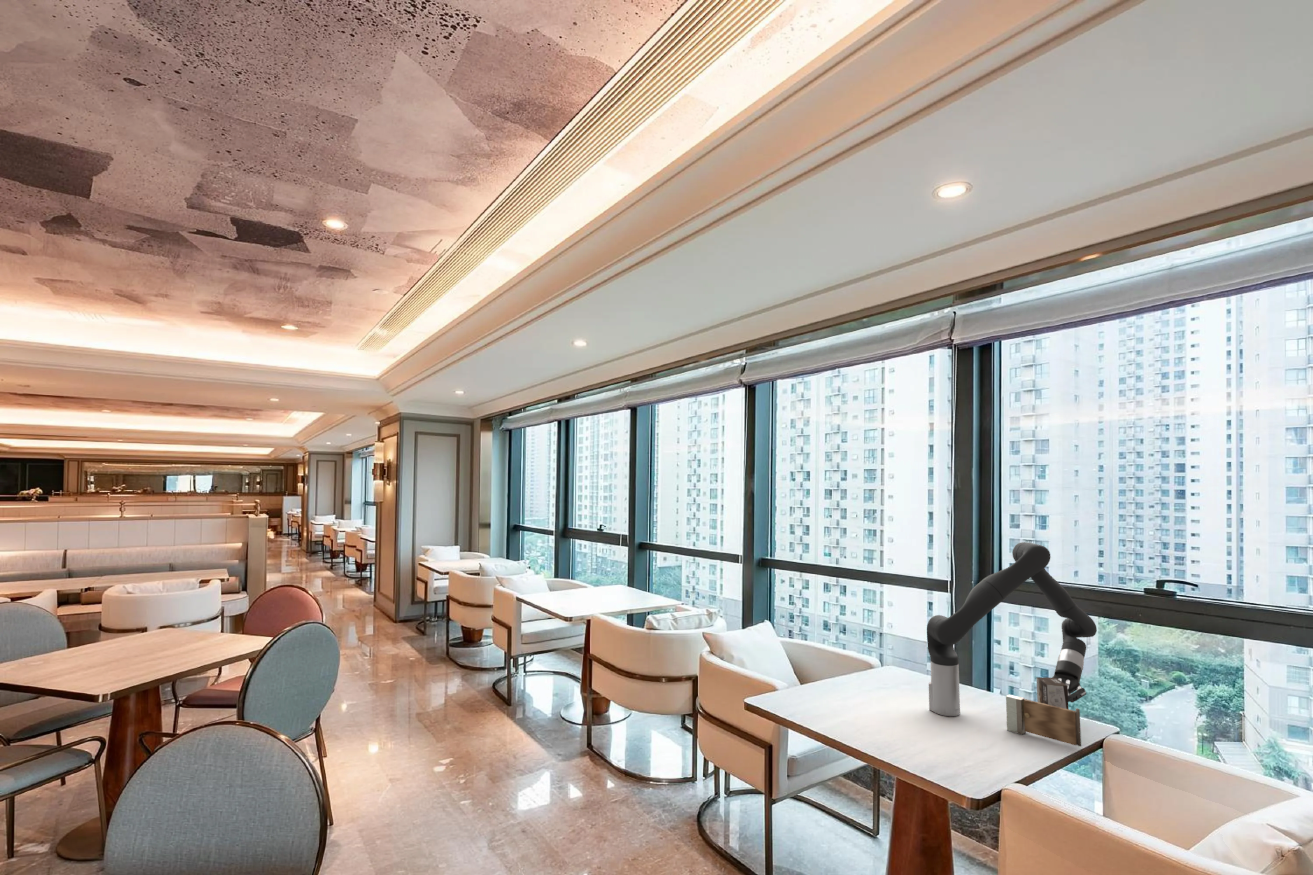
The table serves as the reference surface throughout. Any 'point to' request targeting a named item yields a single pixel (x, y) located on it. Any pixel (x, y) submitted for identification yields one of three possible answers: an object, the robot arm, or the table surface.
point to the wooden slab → (1052, 722)
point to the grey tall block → (1015, 714)
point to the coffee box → (1052, 692)
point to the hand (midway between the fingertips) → (1059, 709)
